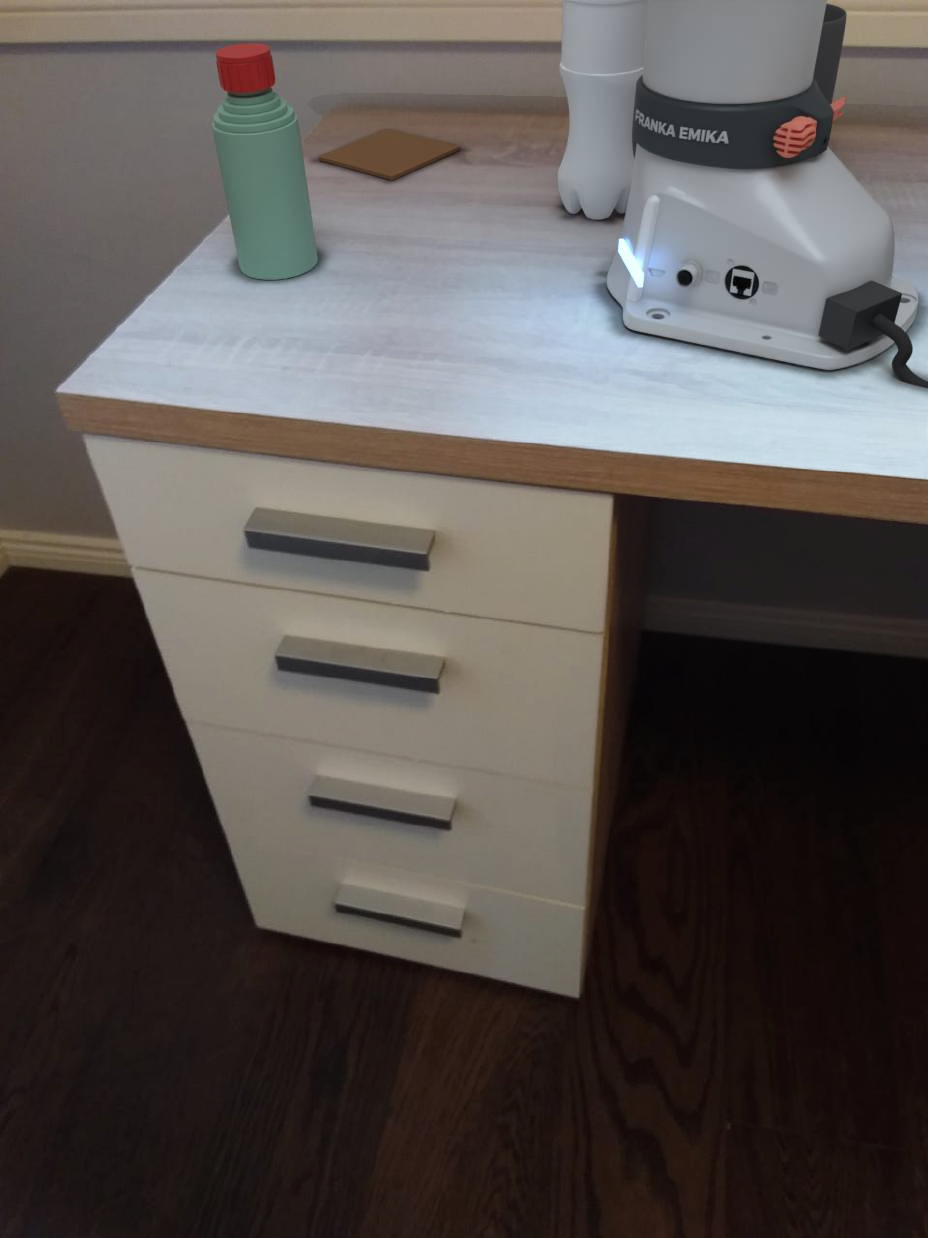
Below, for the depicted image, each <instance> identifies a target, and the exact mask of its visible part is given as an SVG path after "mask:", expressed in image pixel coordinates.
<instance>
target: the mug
mask: <svg viewBox="0 0 928 1238" xmlns="http://www.w3.org/2000/svg"><path fill="white" fill-rule="evenodd" d="M847 16H848V15H847V11H846V10H845V9H844V8H843V7H840V6H837V5H834V4H831V3H828V2H827V3H826V9H825V14H824V20H823V25H822V31H821V36H820V41H819V47H818V53H817V58H816V64H815V69H814V75H813V77H814V79H815V80H816V82H817V84H818V87H819V89H820V91H821V92H822V94H823V95H824V97H825V98H826V100H827V101H828V103H829V104H832V103H833V98H834V95H835V88H836V83H837V78H838V73H839V67H840V62H841V55H842V50H843V44H844V38H845V32H846V31H845V30H846V24H847V18H848V17H847Z"/></svg>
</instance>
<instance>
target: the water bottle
mask: <svg viewBox="0 0 928 1238" xmlns="http://www.w3.org/2000/svg"><path fill="white" fill-rule="evenodd" d="M561 1H562V2H561V3H562V4H561V48H560V49H561V50H560V52H561V54H560V56H561V57H560V61H559V64H558V65H559V68H558V70H559V74H560V77H561V79H562V83H563V86H564V89H565V92H566V93H565V94H566V98H567V104H568V119H569V123H568V124H569V126H568V135H567V136H568V137H567V141H566V146H565V151H564V153H563V156H562V160H561V163H560V165H559V167H558V170H557V173H556V174H557V175H556V177H557V187H558V193H559V196H560V200H561V202H562V204H563V206H564V208H565V210H566V211H567V212H568V213H569V214H573V215H575V214H577V213H579V212H580V211H581V210H582V211H583V213H584V214H585V217H586V218H588V219H590V220H594V221H595V220H597V221H599V220H605V219H608V218H609V217H610V216H611V215H612V213H613V211H614V210H615V211H616V212H617V213H619V214H620V215H621V214H626V210H627V204H628V199H629V194H630V188H631V182H632V175H633V168H634V161H635V158H634V155H633V148H632V125H633V111H634V101H635V91H636V83H637V80H638V79H639V77H641V76H642V75H643V66H644V52H645V38H646V24H647V10H648V0H561Z"/></svg>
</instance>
